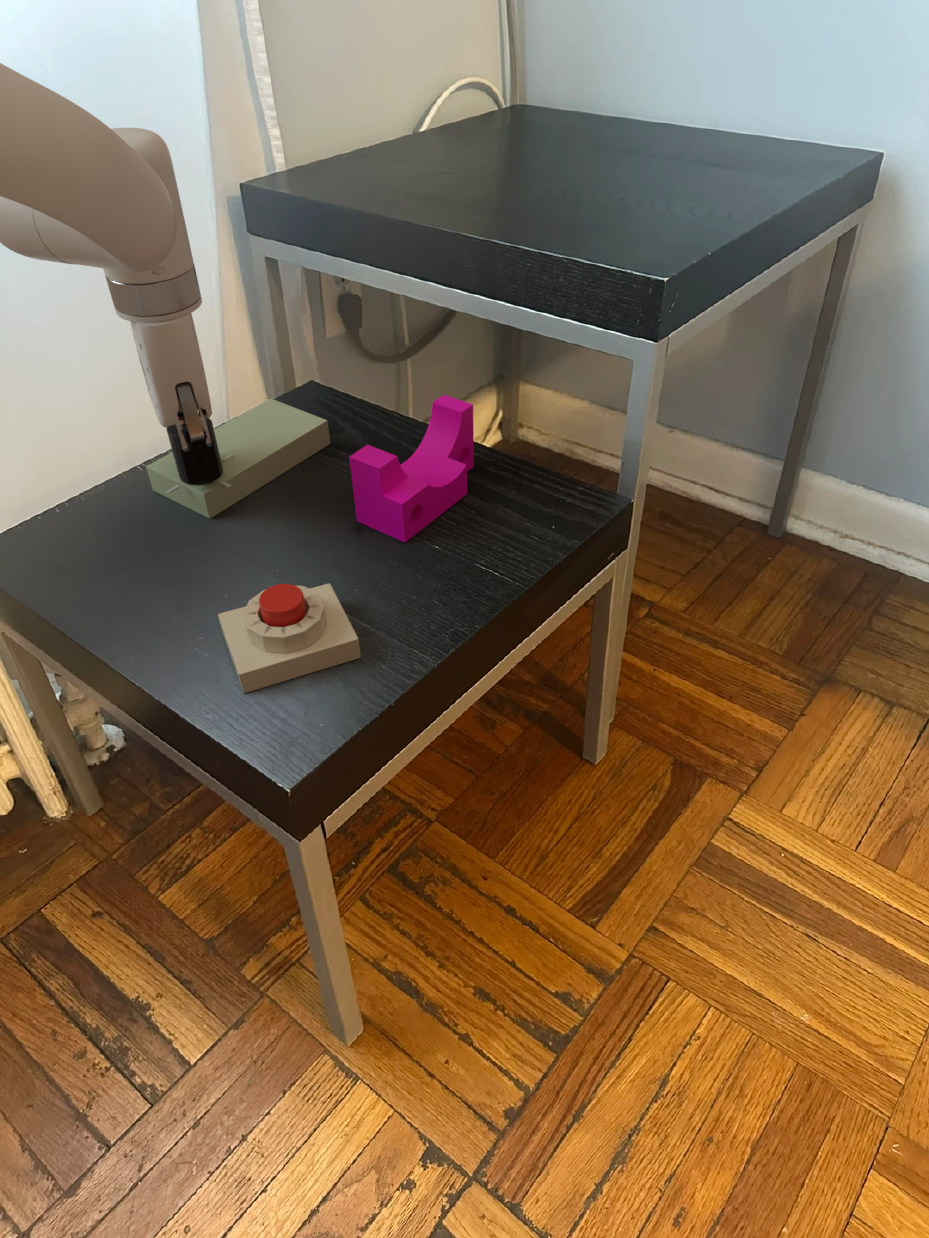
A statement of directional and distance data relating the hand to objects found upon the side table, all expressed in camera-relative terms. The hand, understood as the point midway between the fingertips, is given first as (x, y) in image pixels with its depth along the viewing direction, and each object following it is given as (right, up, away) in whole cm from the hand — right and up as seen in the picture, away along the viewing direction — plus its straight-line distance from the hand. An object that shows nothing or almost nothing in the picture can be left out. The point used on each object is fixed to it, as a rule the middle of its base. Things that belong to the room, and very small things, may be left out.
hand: (199, 465), depth 90 cm
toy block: (+23, -3, +2) cm, 23 cm away
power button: (+12, -15, -17) cm, 26 cm away
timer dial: (0, -1, +1) cm, 1 cm away
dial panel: (+3, 0, +6) cm, 7 cm away
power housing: (+12, -18, -14) cm, 26 cm away
